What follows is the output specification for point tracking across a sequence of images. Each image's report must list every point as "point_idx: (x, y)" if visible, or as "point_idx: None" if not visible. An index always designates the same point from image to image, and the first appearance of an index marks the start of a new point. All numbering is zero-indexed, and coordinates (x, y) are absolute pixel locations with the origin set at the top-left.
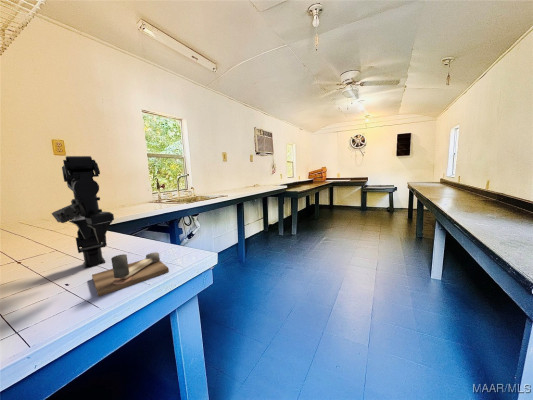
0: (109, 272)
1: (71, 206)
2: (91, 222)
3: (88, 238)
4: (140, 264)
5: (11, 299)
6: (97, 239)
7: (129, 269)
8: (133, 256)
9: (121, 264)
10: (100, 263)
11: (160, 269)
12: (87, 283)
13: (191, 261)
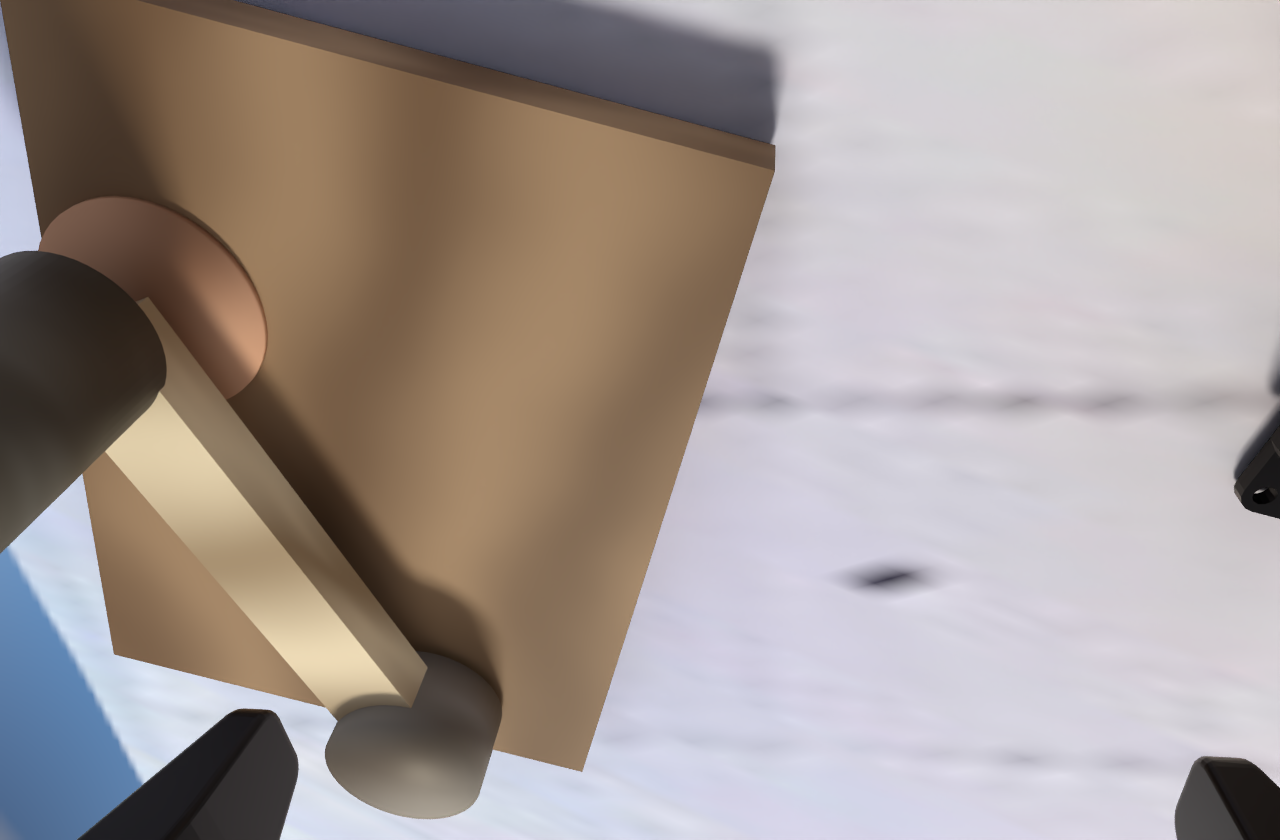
0: (590, 337)
1: None
2: None
3: (1183, 823)
4: (241, 587)
5: None
6: (142, 806)
7: (171, 461)
8: (1000, 716)
9: None
10: (1271, 449)
11: (132, 609)
12: (700, 38)
13: None
